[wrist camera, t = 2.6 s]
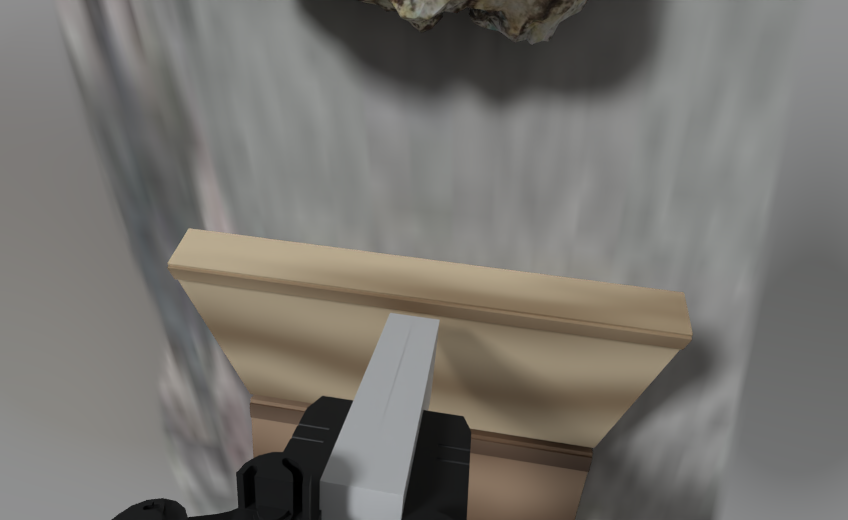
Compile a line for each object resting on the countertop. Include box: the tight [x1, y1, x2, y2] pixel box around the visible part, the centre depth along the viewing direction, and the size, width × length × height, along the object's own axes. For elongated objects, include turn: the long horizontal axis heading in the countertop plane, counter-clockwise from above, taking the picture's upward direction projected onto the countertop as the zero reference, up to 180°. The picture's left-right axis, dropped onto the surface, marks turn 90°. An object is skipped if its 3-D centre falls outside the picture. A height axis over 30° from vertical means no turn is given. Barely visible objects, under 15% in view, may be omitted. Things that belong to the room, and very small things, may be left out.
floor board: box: [250, 394, 593, 520], centre depth 25 cm, size 10×16×2 cm, turn 85°
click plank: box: [167, 228, 693, 448], centre depth 19 cm, size 10×16×2 cm
